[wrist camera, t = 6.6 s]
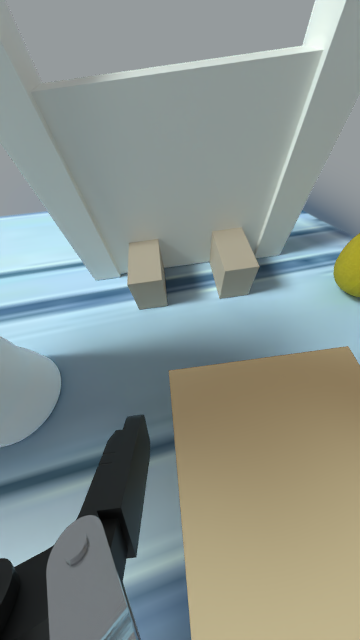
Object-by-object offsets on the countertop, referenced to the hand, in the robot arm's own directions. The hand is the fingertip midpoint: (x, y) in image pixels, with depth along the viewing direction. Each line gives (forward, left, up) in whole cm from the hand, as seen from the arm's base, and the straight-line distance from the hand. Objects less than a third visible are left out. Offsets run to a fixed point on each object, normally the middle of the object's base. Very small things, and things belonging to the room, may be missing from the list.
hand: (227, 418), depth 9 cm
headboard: (+13, +8, -6) cm, 16 cm away
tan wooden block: (-1, 0, -6) cm, 6 cm away
